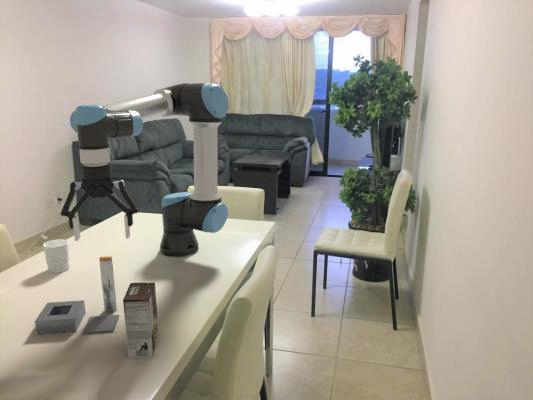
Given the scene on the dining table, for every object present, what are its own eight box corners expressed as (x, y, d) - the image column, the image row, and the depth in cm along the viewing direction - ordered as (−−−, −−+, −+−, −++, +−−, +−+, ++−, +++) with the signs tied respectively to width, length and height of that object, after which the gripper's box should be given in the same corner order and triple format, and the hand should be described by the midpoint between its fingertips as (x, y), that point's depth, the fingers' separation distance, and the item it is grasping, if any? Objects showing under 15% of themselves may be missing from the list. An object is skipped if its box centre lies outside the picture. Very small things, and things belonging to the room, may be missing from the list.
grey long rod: (117, 306, 130) (112, 254, 126) (115, 312, 127) (110, 259, 122) (105, 307, 130) (100, 255, 125) (103, 313, 126) (98, 260, 122)
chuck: (85, 312, 127) (84, 300, 126) (76, 331, 117) (74, 318, 116) (49, 315, 125) (47, 302, 124) (36, 334, 116) (34, 321, 115)
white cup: (61, 274, 151) (58, 248, 149) (41, 272, 153) (37, 246, 150) (75, 265, 159) (72, 240, 156) (56, 263, 160) (53, 238, 158)
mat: (118, 316, 125) (118, 314, 125) (113, 331, 117) (113, 329, 117) (89, 318, 124) (89, 316, 123) (82, 334, 116) (82, 332, 116)
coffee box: (134, 338, 114) (130, 282, 110) (159, 336, 115) (155, 281, 111) (127, 359, 106) (121, 299, 101) (154, 358, 106) (149, 298, 102)
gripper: (145, 160, 122) (150, 231, 128) (51, 162, 118) (60, 235, 124) (141, 165, 115) (147, 240, 120) (41, 167, 111) (51, 244, 117)
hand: (103, 238), depth 122 cm, fingers open, 13 cm apart
